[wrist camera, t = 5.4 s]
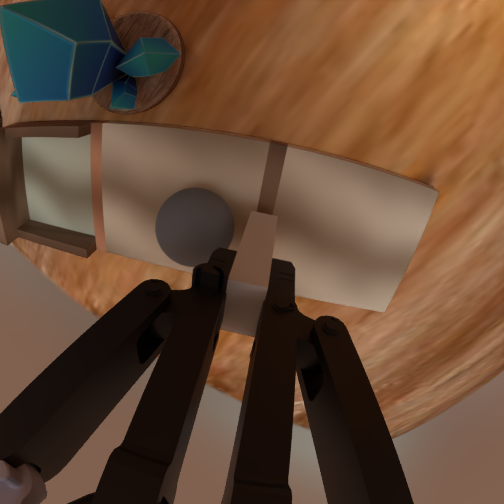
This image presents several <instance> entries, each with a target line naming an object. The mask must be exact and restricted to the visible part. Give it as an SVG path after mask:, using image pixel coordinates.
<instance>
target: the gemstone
mask: <svg viewBox="0 0 504 504" xmlns="http://www.w3.org/2000/svg"><path fill="white" fill-rule="evenodd" d="M0 26H1V32H2V38H3V43H4V48H5V52H6V57H7V61H8V65H9V69H10V73H11V77H12V81H13V84H14V88H15V91H14V92H13V93H12V95H11V96H14V97H17V98H18V101H19V103H27V102H41V101H68V100H74V99H78V98H83V97H89V96H92V97H93V98H94V100H95V101H96V102H97V103H98V104H99V105H100V106H101V107H103V108H104V109H106V110H108V111H110V112H113V113H117V114H133V113H138V112H142V111H145V110H148V109H150V108H152V107H154V106H155V105H157V104H158V103H160V102H161V101H162V100H163V99H164V98H165V97H166V96H167V95H168V94H169V93H170V92H171V91H172V89H173V88H174V86H175V85H176V83H177V81H178V79H179V77H180V75H181V72H182V69H183V65H184V56H185V51H184V44H183V40H182V37H181V35H180V33H179V31H178V30H177V28H176V27H175V26H174V25H173V24H172V23H171V22H170V21H169V20H167V19H166V18H164V17H162V16H160V15H158V14H155V13H151V12H133V13H128V14H125V15H123V16H120V17H119V18H117V19H115V20H113V21H112V22H111V20H110V18H109V16H108V14H107V12H106V10H105V8H104V6H103V4H102V2H101V0H35V1H27V2H20V3H13V4H7V5H2V6H1V7H0Z"/></svg>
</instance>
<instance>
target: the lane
mask: <svg viewBox="0 0 504 504" xmlns="http://www.w3.org/2000/svg"><path fill="white" fill-rule="evenodd" d="M186 188H204V189H207V190H210V191H212V192H214V193H216V194H217V195H219V196H220V197H221V198H222V199H223V200H224V201H225V202H226V203H227V205H228V206H229V208H230V210H231V212H232V215H233V219H234V235H233V239H232V242H231V244H230V246H229V248H228V249H230V250H235V251H238V248H239V245H240V242H241V240H242V237H243V234H244V231H245V228H246V225H247V222H248V219H249V216H250V214H251V211H255V212H260V213H265V214H269V215H274V216H278V219H277V226H276V234H275V241H274V249H273V256H272V258H275V259H280V260H285V261H289V262H292V264H293V266H294V267H295V296H300V297H305V298H310V299H315V300H320V301H325V302H330V303H336V304H341V305H346V306H352V307H357V308H363V309H368V310H374V311H379V312H385V310H386V308H387V306H388V304H389V302H390V301H391V299H392V297H393V295H394V293H395V291H396V289H397V287H398V285H399V283H400V281H401V279H402V277H403V275H404V273H405V271H406V269H407V267H408V265H409V263H410V261H411V259H412V257H413V254H414V252H415V250H416V248H417V246H418V243H419V241H420V239H421V236H422V234H423V232H424V229H425V227H426V225H427V222H428V220H429V217H430V215H431V212H432V210H433V207H434V204H435V202H436V199H437V196H438V194H439V191H438V190H437V189H435V188H434V187H432V186H430V185H427V184H425V183H422V182H419V181H416V180H414V179H411V178H408V177H405V176H402V175H399V174H396V173H393V172H390V171H387V170H384V169H381V168H378V167H374V166H371V165H368V164H365V163H361V162H358V161H354V160H351V159H347V158H344V157H340V156H336V155H332V154H329V153H325V152H321V151H317V150H313V149H309V148H304V147H300V146H296V145H291V144H287V143H282V142H277V141H272V140H267V139H262V138H257V137H251V136H246V135H240V134H234V133H228V132H221V131H214V130H207V129H200V128H192V127H183V126H174V125H164V124H153V123H140V122H123V121H94V120H62V121H35V122H20V123H15V124H11V125H8V126H5V127H2V128H0V242H1V243H2V244H5V245H9V244H10V243H11V242H13V241H14V240H15V239H16V238H18V237H20V238H23V239H26V240H29V241H33V242H36V243H39V244H42V245H45V246H48V247H52V248H55V249H58V250H61V251H65V252H68V253H71V254H75V255H78V256H81V257H85V258H88V257H89V256H90V255H91V254H92V253H93V252H94V251H95V250H96V249H98V250H102V251H105V252H109V253H113V254H117V255H121V256H125V257H128V258H132V259H136V260H140V261H144V262H148V263H152V264H156V265H160V266H165V267H169V268H173V269H177V270H181V271H185V272H190V273H193V269H194V267H187V266H183V265H180V264H178V263H176V262H174V261H173V260H171V259H170V258H169V257H168V256H167V255H166V254H165V253H164V252H163V251H162V249H161V247H160V246H159V243H158V241H157V238H156V232H155V224H156V218H157V215H158V212H159V210H160V208H161V206H162V205H163V203H164V202H165V201H166V200H167V199H168V198H169V197H170V196H171V195H173V194H174V193H176V192H178V191H180V190H183V189H186Z"/></svg>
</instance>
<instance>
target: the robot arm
mask: <svg viewBox="0 0 504 504" xmlns="http://www.w3.org/2000/svg"><path fill="white" fill-rule="evenodd" d="M277 219H278V216H274V215H269V214H265V213H260V212H255V211H251V214H250V216H249V219H248V222H247V225H246V228H245V231H244V234H243V237H242V240H241V242H240V245H239V248H238V251H235V250H230V249H225V248H221V247H219V248H218V249H216V250H215V251H213V252H212V254H211V256H210V259H209V261H208V263H202V264H199V265H197V266H195V267H194V269H193V275H192V287H191V288H190V289H186V290H171V288H170V286H169V285H168V284H167V283H166V282H164V281H162V280H158V279H150V280H146V281H144V282H142V283H141V284H139V285H138V286H137V287H136V288H135V289H133V290H132V291H131V292H130V293H129V294H128V295H126V296H125V297H124V298H123V299H122V300H121V301H120V302H118V303H117V304H116V305H115V306H114V307H113V308H111V309H110V310H109V311H108V312H107V313H106V314H105V315H104V316H102V317H101V318H100V319H99V320H98V321H97V322H96V323H95V324H93V325H92V326H91V327H90V328H89V329H88V330H87V331H86V332H85V333H83V334H82V335H81V336H80V337H79V338H78V339H77V340H76V341H75V342H74V343H72V344H71V345H70V346H69V347H68V348H67V349H66V350H65V351H64V352H63V353H62V354H61V355H60V356H58V357H57V358H56V359H55V360H54V361H53V362H52V363H51V364H50V365H49V366H48V367H47V368H46V369H45V370H44V371H43V372H42V373H41V374H40V375H39V376H38V377H36V378H35V380H33V381H32V382H31V383H30V384H29V385H28V386H27V387H26V388H25V389H24V390H23V391H22V392H21V394H19V395H18V396H17V397H16V398H15V399H14V400H13V401H12V402H11V403H10V405H8V406H7V408H6V409H5V410H4V411H3V412H2V413H1V414H0V504H40V503H41V502H42V501H43V500H44V499H45V498H46V497H47V491H46V486H45V482H47V481H48V480H50V479H51V478H53V477H54V476H55V475H57V474H58V473H59V472H60V471H61V470H62V469H63V468H64V467H65V466H66V465H67V464H68V462H69V461H70V460H71V459H72V458H73V457H74V455H75V454H76V453H77V452H78V450H79V449H80V448H81V447H82V446H83V445H84V443H85V442H86V441H87V440H88V439H89V437H90V436H91V435H92V434H93V433H94V431H95V430H96V429H97V428H98V426H99V425H100V424H101V423H102V422H103V421H104V419H105V418H106V417H107V416H108V414H109V413H110V412H111V411H112V410H113V409H114V407H115V406H116V405H117V404H118V403H119V401H120V400H121V399H122V398H123V397H124V395H125V394H126V393H127V392H128V391H129V390H130V388H131V387H132V386H133V385H134V384H135V382H136V381H137V380H138V379H139V377H140V376H141V375H142V374H143V373H144V372H145V370H146V369H147V368H148V367H149V366H150V364H151V363H152V362H153V361H154V360H155V359H156V357H157V356H158V355H159V354H160V353H161V354H160V356H159V358H158V360H157V363H156V365H155V367H154V369H153V372H152V374H151V377H150V379H149V381H148V383H147V385H146V388H145V390H144V392H143V395H142V397H141V400H140V402H139V404H138V407H137V409H136V411H135V414H134V416H133V419H132V421H131V423H130V426H129V428H128V431H127V433H126V436H125V438H124V440H123V442H122V444H121V445H120V446H119V447H117V448H115V449H114V450H113V452H112V453H111V455H110V457H109V459H108V461H107V464H106V466H105V469H104V471H103V474H102V477H101V479H100V482H99V484H98V487H97V490H96V492H94V493H91V494H88V495H86V496H83V497H81V498H79V499H77V500H75V501H72V502H70V503H68V504H173V502H174V498H175V494H176V489H177V482H178V478H179V475H180V471H181V467H182V464H183V460H184V457H185V453H186V450H187V446H188V443H189V439H190V436H191V432H192V429H193V425H194V421H195V418H196V414H197V411H198V408H199V404H200V400H201V397H202V394H203V390H204V387H205V383H206V380H207V376H208V373H209V370H210V366H211V363H212V359H213V356H214V352H215V349H216V345H217V342H218V338H219V331H220V328H221V330H225V331H230V332H234V333H239V334H243V335H248V336H253V337H255V339H254V343H253V346H252V350H251V354H250V357H251V358H250V363H249V368H248V374H247V379H246V385H245V390H244V395H243V400H242V406H241V411H240V416H239V422H238V426H237V432H236V437H235V442H234V447H233V452H232V457H231V462H230V467H229V472H228V477H227V481H226V486H225V491H224V495H223V499H222V502H221V504H292V492H291V489H290V487H289V485H288V474H289V464H290V452H291V440H292V427H293V412H294V395H295V376H296V372H297V376H298V380H299V384H300V388H301V392H302V396H303V400H304V405H305V409H306V413H307V417H308V421H309V425H310V429H311V433H312V437H313V442H314V446H315V450H316V455H317V459H318V463H319V467H320V472H321V476H322V480H323V485H324V489H325V493H326V497H327V502H328V504H414V503H413V500H412V497H411V494H410V490H409V488H408V484H407V482H406V478H405V475H404V472H403V470H402V467H401V464H400V461H399V458H398V455H397V452H396V449H395V447H394V444H393V441H392V438H391V436H390V433H389V430H388V428H387V425H386V422H385V420H384V417H383V414H382V412H381V409H380V407H379V404H378V402H377V399H376V397H375V394H374V392H373V389H372V387H371V384H370V382H369V379H368V377H367V374H366V372H365V370H364V367H363V365H362V363H361V360H360V358H359V355H358V353H357V351H356V348H355V346H354V344H353V342H352V339H351V337H350V335H349V332H348V330H347V328H346V326H345V325H344V323H343V322H341V321H340V320H339V319H337V318H335V317H332V316H320V317H319V318H317V319H316V321H315V320H313V319H311V318H308V317H307V316H305V315H303V314H302V313H301V312H299V310H298V308H297V305H296V303H295V267H294V266H293V264H292V262H289V261H285V260H280V259H275V258H272V256H273V249H274V241H275V234H276V226H277ZM161 351H162V352H161Z"/></svg>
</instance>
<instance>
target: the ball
mask: <svg viewBox="0 0 504 504" xmlns="http://www.w3.org/2000/svg"><path fill="white" fill-rule="evenodd" d="M155 232H156V238H157V241H158V243H159V246H160V247H161V249H162V251H163V252H164V253H165V254H166V255H167V256H168V257H169V258H170V259H171V260H173V261H174V262H176V263H178V264H180V265H183V266H187V267H195V266H197V265H199V264H202V263H208V261H209V259H210V256H211V254H212V252H213V251H215V250H216V249H218V248H219V247H221V248H225V249H228V248H229V246H230V244H231V242H232V239H233V235H234V219H233V215H232V212H231V210H230V208H229V206H228V205H227V203H226V202H225V201H224V200H223V199H222V198H221V197H220V196H219V195H217V194H216V193H214V192H212V191H210V190H207V189H204V188H186V189H183V190H180V191H178V192H176V193H174V194H173V195H171V196H170V197H169V198H168V199H167V200H166V201H165V202H164V203H163V205H162V206H161V208H160V210H159V212H158V215H157V218H156V224H155Z"/></svg>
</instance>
